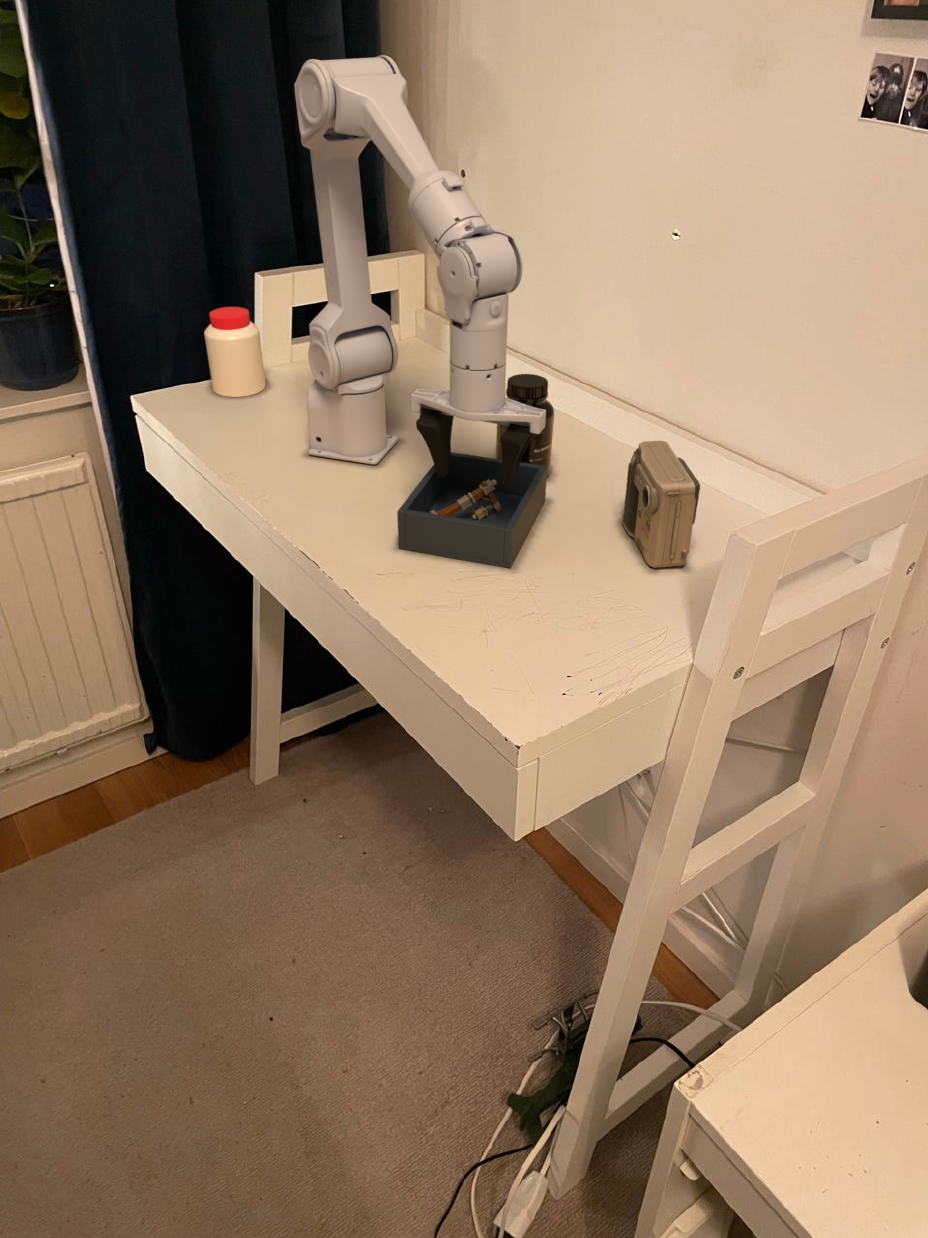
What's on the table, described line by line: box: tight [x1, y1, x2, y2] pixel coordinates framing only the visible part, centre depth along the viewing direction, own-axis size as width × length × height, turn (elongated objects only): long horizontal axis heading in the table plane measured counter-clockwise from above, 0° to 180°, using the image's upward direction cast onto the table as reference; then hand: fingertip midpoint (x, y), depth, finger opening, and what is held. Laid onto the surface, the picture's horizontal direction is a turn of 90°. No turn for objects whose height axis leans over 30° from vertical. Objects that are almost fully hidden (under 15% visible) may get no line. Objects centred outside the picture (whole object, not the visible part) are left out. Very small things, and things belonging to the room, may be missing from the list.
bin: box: [396, 451, 548, 569], centre depth 104 cm, size 13×16×5 cm
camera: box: [622, 440, 701, 569], centre depth 100 cm, size 11×6×10 cm, turn 4°
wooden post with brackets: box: [431, 479, 502, 520], centre depth 104 cm, size 2×8×4 cm, turn 113°
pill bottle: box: [203, 306, 267, 398], centre depth 135 cm, size 8×8×11 cm
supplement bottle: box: [495, 373, 555, 477], centre depth 113 cm, size 7×7×12 cm
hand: (475, 481), depth 103 cm, fingers open, 7 cm apart
